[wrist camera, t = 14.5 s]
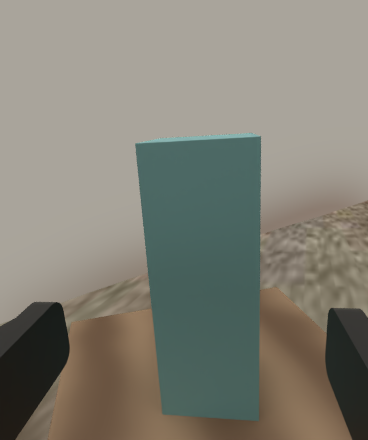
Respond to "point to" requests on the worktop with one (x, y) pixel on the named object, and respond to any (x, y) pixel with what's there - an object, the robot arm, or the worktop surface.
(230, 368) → the teal pillar
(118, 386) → the walnut base
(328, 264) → the worktop surface
